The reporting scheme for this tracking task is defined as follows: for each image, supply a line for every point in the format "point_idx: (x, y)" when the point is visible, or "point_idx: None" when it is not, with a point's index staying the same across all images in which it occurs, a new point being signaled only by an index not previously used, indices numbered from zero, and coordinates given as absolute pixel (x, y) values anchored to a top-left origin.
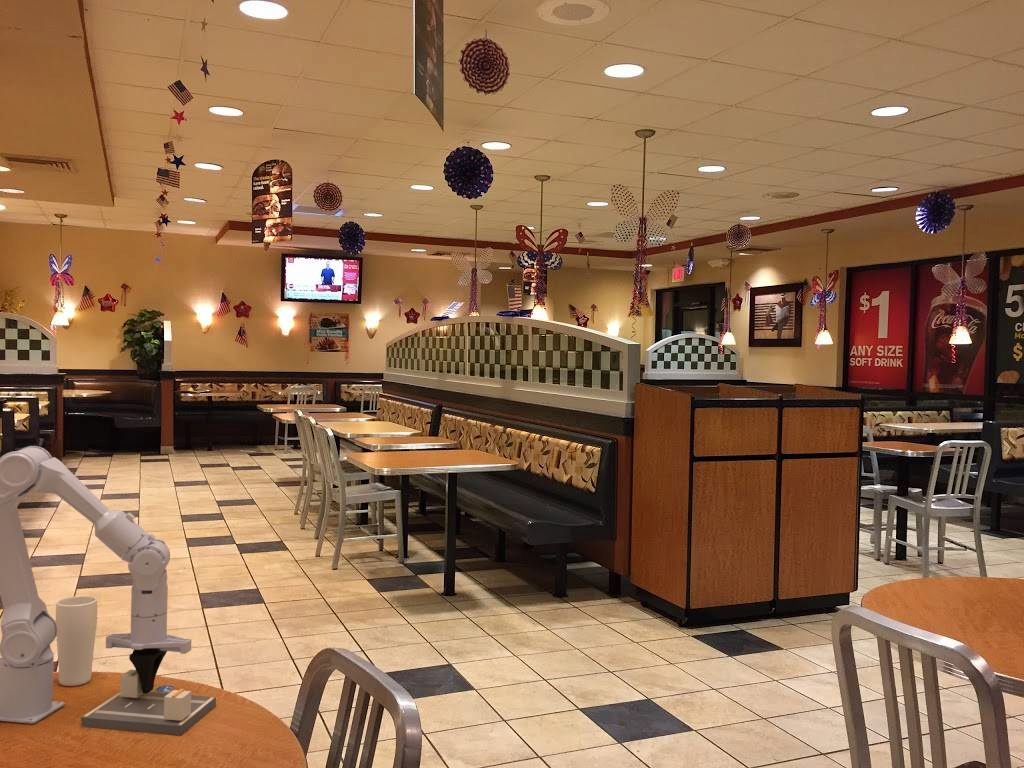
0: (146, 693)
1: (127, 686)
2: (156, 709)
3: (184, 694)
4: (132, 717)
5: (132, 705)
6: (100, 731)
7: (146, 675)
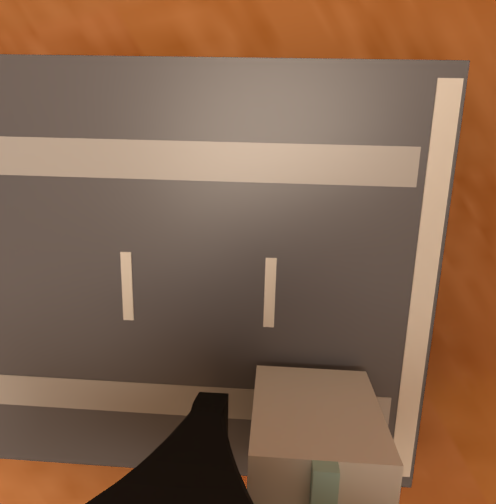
0: (201, 392)
1: (326, 407)
2: (73, 253)
3: None
4: (141, 117)
5: (241, 286)
6: (298, 29)
7: (157, 461)
